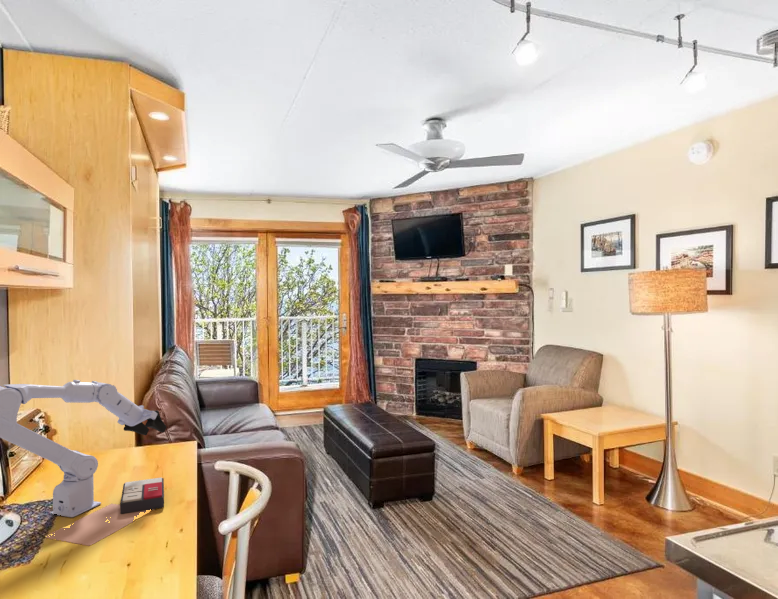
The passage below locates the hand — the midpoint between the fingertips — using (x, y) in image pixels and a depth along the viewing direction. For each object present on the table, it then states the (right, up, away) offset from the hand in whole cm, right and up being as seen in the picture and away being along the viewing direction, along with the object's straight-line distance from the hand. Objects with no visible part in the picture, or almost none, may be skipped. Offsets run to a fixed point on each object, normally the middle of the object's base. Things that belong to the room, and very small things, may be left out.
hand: (155, 431), depth 161 cm
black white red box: (+3, -17, -15) cm, 23 cm away
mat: (-1, -17, -29) cm, 33 cm away
